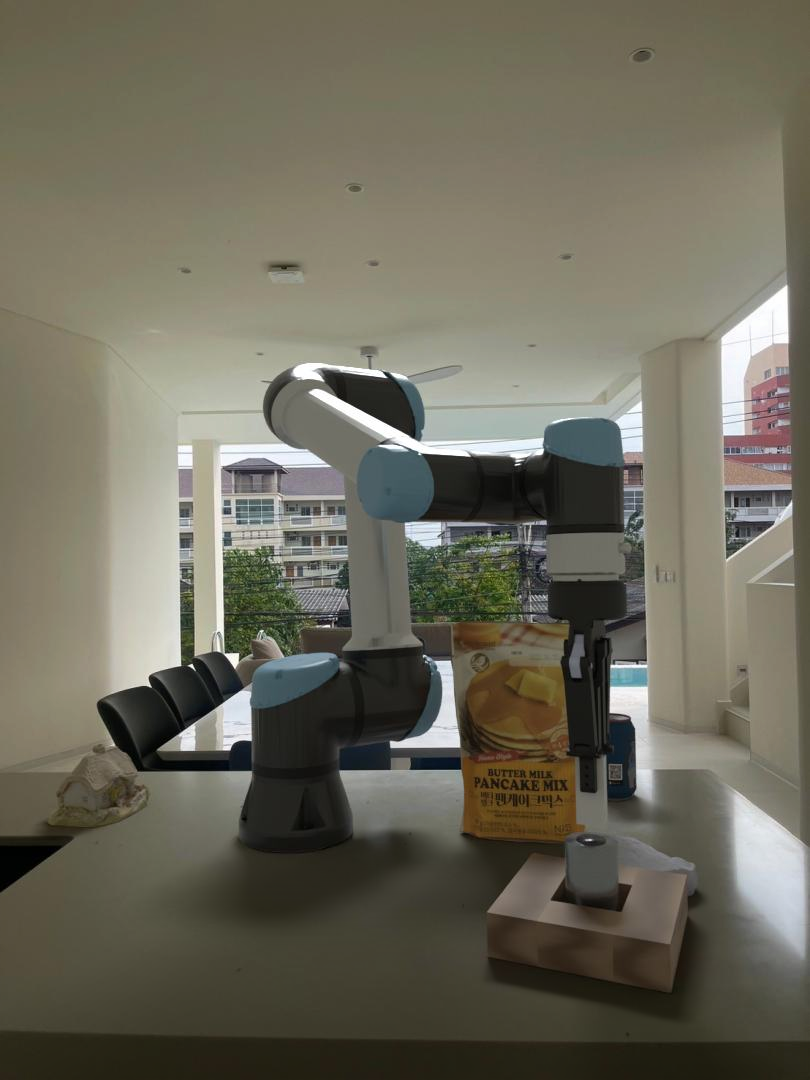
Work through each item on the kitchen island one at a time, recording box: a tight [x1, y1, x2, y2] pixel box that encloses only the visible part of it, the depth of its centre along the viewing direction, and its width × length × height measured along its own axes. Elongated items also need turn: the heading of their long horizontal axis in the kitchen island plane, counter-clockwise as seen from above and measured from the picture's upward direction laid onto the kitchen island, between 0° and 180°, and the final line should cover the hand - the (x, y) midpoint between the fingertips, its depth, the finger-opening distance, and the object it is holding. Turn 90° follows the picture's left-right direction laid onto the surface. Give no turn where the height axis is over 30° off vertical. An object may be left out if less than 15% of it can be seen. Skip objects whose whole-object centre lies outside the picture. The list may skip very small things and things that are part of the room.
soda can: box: [602, 712, 638, 802], centre depth 123 cm, size 7×7×12 cm
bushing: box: [564, 831, 619, 912], centre depth 77 cm, size 5×5×9 cm
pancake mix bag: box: [447, 620, 587, 845], centre depth 106 cm, size 7×19×28 cm, turn 78°
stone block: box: [608, 834, 699, 897], centre depth 90 cm, size 12×5×10 cm
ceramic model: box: [47, 743, 151, 828], centre depth 117 cm, size 14×11×10 cm
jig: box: [486, 852, 689, 994], centre depth 77 cm, size 16×16×4 cm
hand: (592, 823), depth 77 cm, fingers closed
